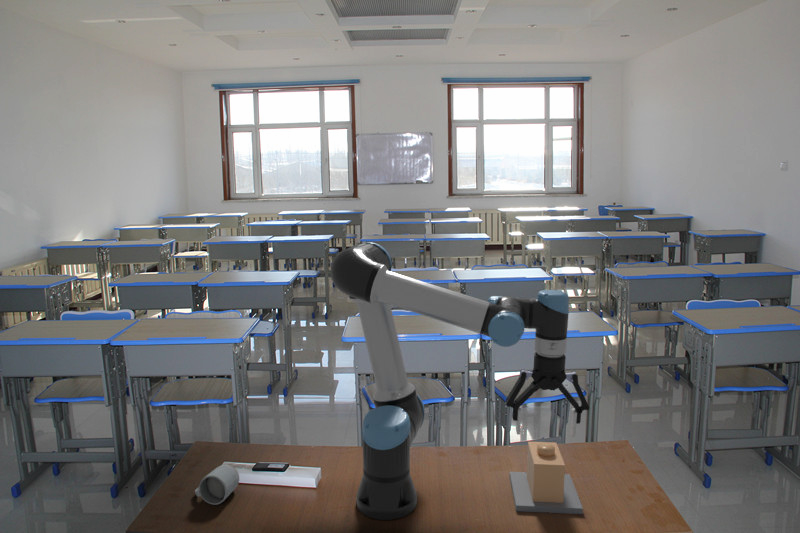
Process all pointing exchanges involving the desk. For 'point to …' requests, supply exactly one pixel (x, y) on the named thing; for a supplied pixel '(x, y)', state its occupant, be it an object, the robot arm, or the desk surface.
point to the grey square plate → (528, 505)
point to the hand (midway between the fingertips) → (545, 433)
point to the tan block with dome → (545, 472)
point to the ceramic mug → (218, 484)
